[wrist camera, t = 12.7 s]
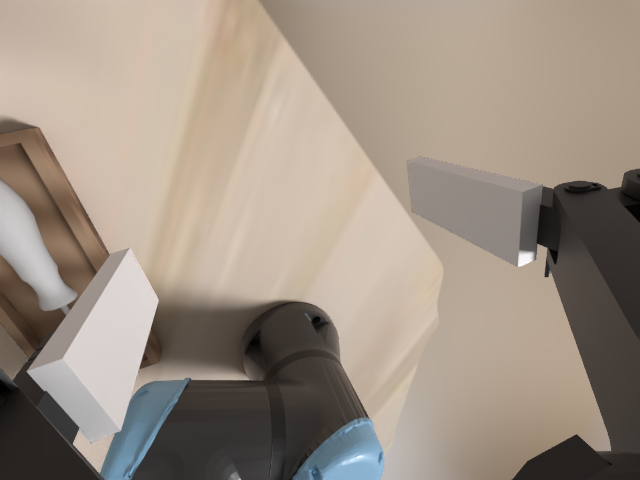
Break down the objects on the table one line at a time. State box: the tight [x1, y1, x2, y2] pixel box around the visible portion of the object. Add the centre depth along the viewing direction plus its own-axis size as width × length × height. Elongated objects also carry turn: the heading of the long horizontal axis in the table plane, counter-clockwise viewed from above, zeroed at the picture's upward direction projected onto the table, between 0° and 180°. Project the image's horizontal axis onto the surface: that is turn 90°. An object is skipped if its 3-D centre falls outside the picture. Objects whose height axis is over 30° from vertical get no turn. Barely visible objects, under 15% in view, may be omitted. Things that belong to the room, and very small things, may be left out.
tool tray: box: [0, 128, 162, 369], centre depth 36 cm, size 30×12×2 cm, turn 12°
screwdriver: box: [0, 179, 78, 316], centre depth 35 cm, size 5×25×4 cm, turn 10°
